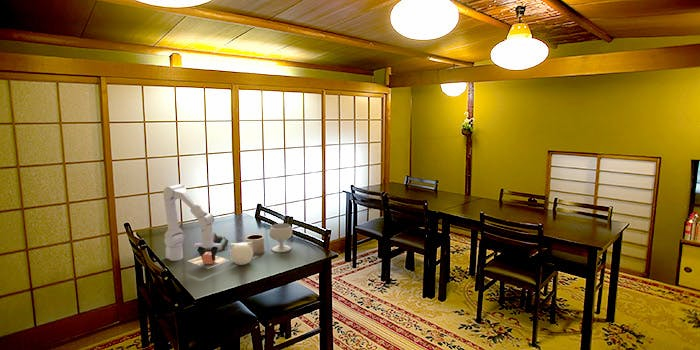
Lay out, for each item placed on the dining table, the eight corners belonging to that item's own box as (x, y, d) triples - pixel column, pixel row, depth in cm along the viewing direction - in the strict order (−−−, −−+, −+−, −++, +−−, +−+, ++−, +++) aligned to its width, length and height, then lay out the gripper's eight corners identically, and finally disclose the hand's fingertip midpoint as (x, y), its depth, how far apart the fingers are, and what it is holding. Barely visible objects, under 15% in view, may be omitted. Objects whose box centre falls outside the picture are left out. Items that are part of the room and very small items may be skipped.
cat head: (227, 270, 204) (226, 248, 202) (228, 261, 216) (227, 240, 214) (256, 267, 208) (255, 245, 206) (255, 258, 221) (254, 238, 219)
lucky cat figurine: (225, 253, 228) (212, 236, 222) (208, 260, 230) (194, 243, 224) (231, 238, 241) (219, 222, 235) (215, 245, 243) (202, 229, 237)
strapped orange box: (206, 260, 212) (206, 251, 211) (215, 260, 212) (215, 251, 211) (202, 263, 207) (202, 254, 206) (211, 264, 207) (211, 254, 206)
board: (187, 263, 214) (186, 256, 213) (208, 255, 225) (208, 249, 225) (208, 270, 204) (208, 264, 203) (229, 262, 215) (229, 255, 214)
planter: (242, 253, 229) (241, 237, 228) (256, 247, 238) (255, 233, 236) (254, 256, 223) (254, 241, 222) (268, 251, 232) (267, 236, 231)
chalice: (265, 251, 232) (264, 227, 230) (279, 244, 244) (278, 221, 242) (283, 255, 226) (282, 230, 223) (297, 247, 238) (296, 224, 235)
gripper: (190, 238, 203) (192, 262, 206) (217, 239, 202) (218, 263, 205) (196, 234, 210) (198, 257, 212) (222, 234, 209) (223, 258, 212)
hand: (208, 260), depth 209 cm, fingers closed on strapped orange box, 5 cm apart
